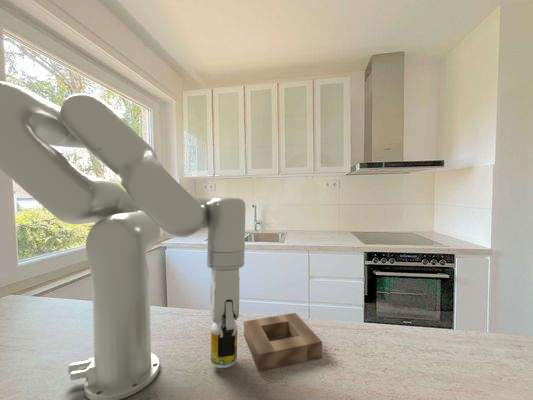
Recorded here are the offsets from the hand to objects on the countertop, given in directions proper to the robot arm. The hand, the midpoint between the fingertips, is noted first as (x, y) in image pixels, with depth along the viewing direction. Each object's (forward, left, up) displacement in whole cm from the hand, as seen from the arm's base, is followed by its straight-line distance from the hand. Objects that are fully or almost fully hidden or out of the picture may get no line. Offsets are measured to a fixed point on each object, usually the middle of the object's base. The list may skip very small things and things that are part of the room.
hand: (224, 345), depth 51 cm
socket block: (+13, +3, -4) cm, 14 cm away
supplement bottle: (0, 0, -3) cm, 3 cm away
